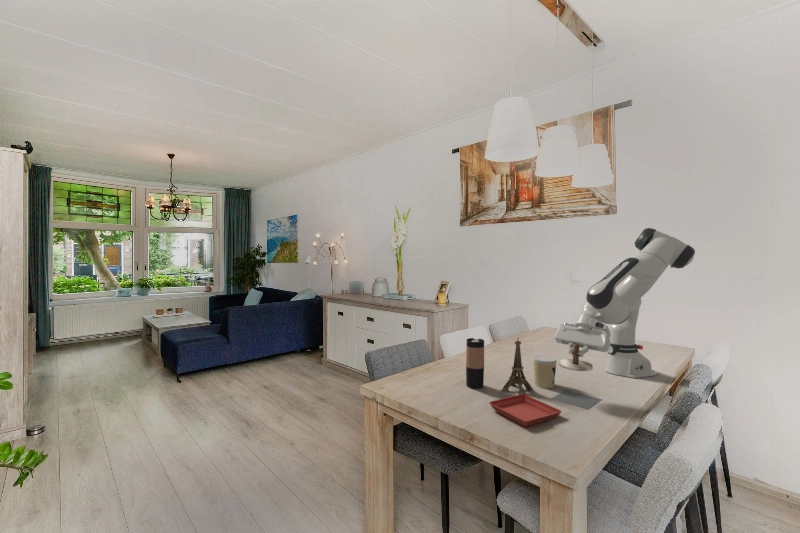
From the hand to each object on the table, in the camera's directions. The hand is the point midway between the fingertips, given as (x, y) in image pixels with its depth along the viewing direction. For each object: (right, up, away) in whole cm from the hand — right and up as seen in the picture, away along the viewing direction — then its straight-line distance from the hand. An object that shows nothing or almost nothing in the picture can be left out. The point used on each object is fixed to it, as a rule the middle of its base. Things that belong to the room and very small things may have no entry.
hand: (575, 354), depth 148 cm
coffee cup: (-6, -17, +16) cm, 24 cm away
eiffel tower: (-19, -18, +10) cm, 28 cm away
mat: (+1, -18, +1) cm, 18 cm away
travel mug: (-36, -17, +16) cm, 43 cm away
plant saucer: (-24, -19, -12) cm, 33 cm away
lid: (0, -5, +1) cm, 5 cm away
